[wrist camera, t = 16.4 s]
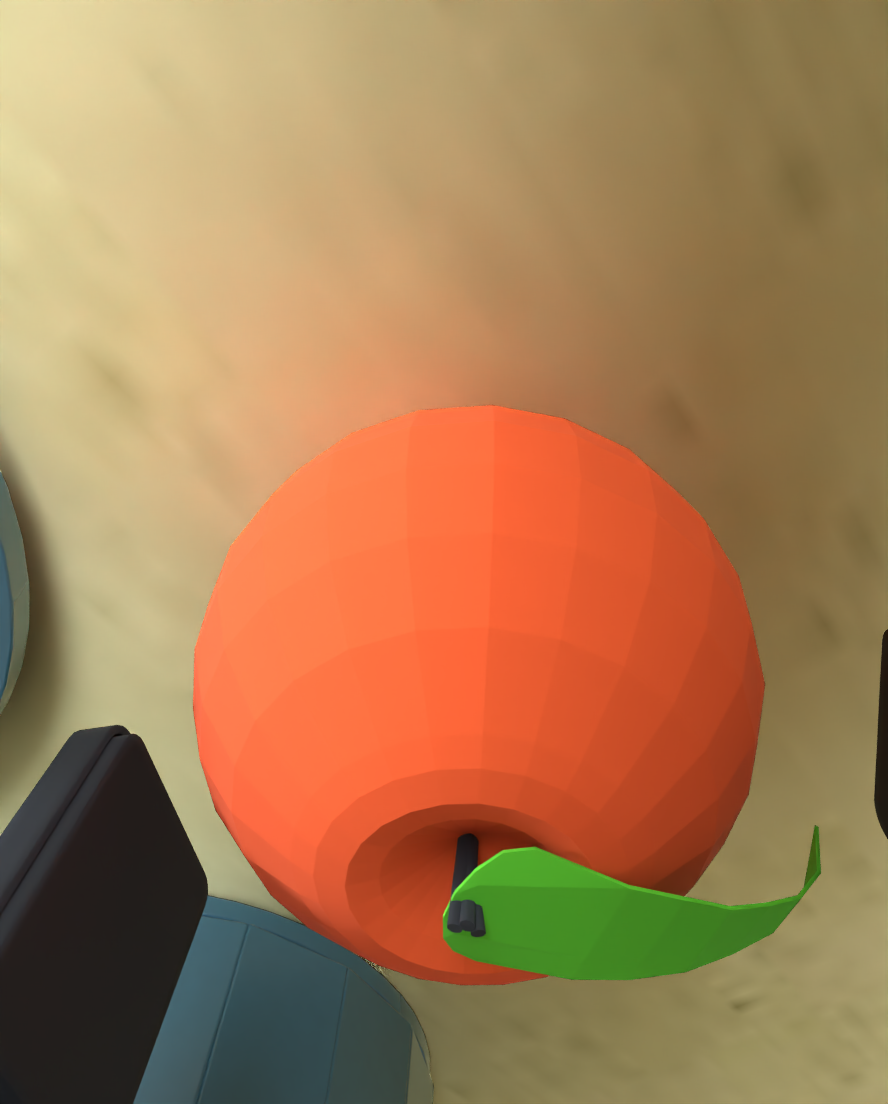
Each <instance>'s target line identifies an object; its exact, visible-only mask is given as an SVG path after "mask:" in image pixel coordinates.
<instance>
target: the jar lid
mask: <svg viewBox="0 0 888 1104" xmlns="http://www.w3.org/2000/svg"><path fill="white" fill-rule="evenodd" d="M29 589H30V584H29V577H28V570H27V564H26V557H25V550H24V543H23V537H22V534H21V530H20V527H19V523H18V520H17V516H16V513H15V510H14V506H13V503H12V499H11V496H10V492H9V489H8V486H7V484H6V481H5V479H4V477H3V475H2V472H1V470H0V714H1V713H2V711H3V710H4V708H5V706H6V705H7V703H8V702H9V700H10V697H11V694H12V692H13V689H14V686H15V684H16V681H17V679H18V676H19V673H20V671H21V668H22V664H23V659H24V653H25V648H26V642H27V637H28V631H29Z"/></svg>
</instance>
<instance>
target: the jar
mask: <svg viewBox="0 0 888 1104" xmlns="http://www.w3.org/2000/svg"><path fill="white" fill-rule="evenodd" d="M433 1093H434V1085H433V1082H432V1079H431V1077H430V1054H429V1050H428V1046H427V1042H426V1038H425V1034H424V1032H423V1030H422V1028H421V1026H420V1024H419V1022H418V1019H417V1017H416V1015H415V1014H414V1012H413V1011H412V1009H411V1008H410V1006H409V1005H408V1004H407V1002H406V1001H405V999H404V998H403V997H402V995H401V994H400V993H399V992H398V991H397V990H396V989H395V988H394V987H393V986H392V985H391V984H390V982H389V981H388V980H387V979H386V978H385V977H384V976H383V975H381V974H380V973H379V972H378V971H377V970H375V969H374V968H373V967H372V966H370V965H369V964H368V963H367V962H366V961H364V960H363V959H362V958H361V957H359V956H357V955H356V954H354V953H353V952H351V951H349V950H347V949H346V948H344V947H342V946H340V945H338V944H337V943H335V942H333V941H331V940H329V939H328V938H326V937H324V936H322V935H320V934H319V933H317V932H315V931H313V930H311V929H310V928H308V927H307V926H305V925H302V924H300V923H297V922H295V921H292V920H290V919H287V918H285V917H282V916H280V915H277V914H275V913H272V912H269V911H266V910H263V909H259V908H256V907H253V906H249V905H246V904H243V903H239V902H236V901H231V900H226V899H222V898H217V897H212V896H208V895H207V902H206V905H205V908H204V911H203V914H202V916H201V919H200V922H199V925H198V927H197V930H196V933H195V936H194V938H193V941H192V944H191V947H190V949H189V952H188V955H187V957H186V960H185V963H184V966H183V968H182V971H181V974H180V977H179V979H178V982H177V985H176V988H175V990H174V993H173V996H172V999H171V1001H170V1004H169V1007H168V1010H167V1012H166V1015H165V1018H164V1020H163V1023H162V1026H161V1029H160V1031H159V1034H158V1037H157V1040H156V1042H155V1045H154V1048H153V1051H152V1053H151V1056H150V1059H149V1062H148V1064H147V1067H146V1070H145V1072H144V1075H143V1078H142V1081H141V1083H140V1086H139V1089H138V1092H137V1094H136V1097H135V1100H134V1103H133V1104H433Z"/></svg>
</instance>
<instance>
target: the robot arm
mask: <svg viewBox="0 0 888 1104" xmlns="http://www.w3.org/2000/svg"><path fill="white" fill-rule="evenodd" d="M874 802H875V809H876V814H877V817H878V820H879V823H880V826H881V828H882V830H883V832H884V834H885V835H886V837H887V839H888V630H886V631H885V632H884V634H883V639H882V655H881V674H880V694H879V714H878V734H877V754H876V774H875V794H874ZM207 895H208V884H207V878H206V875H205V872H204V870H203V868H202V866H201V864H200V862H199V860H198V857H197V855H196V853H195V851H194V849H193V847H192V845H191V842H190V840H189V838H188V836H187V834H186V832H185V830H184V828H183V825H182V823H181V821H180V819H179V817H178V815H177V813H176V810H175V808H174V806H173V804H172V802H171V800H170V798H169V796H168V793H167V791H166V789H165V787H164V785H163V783H162V781H161V779H160V776H159V774H158V772H157V770H156V768H155V766H154V764H153V761H152V759H151V757H150V755H149V753H148V751H147V749H146V747H145V744H144V742H143V741H142V739H141V738H140V737H139V736H138V735H136V734H130V733H129V731H128V730H127V729H126V728H125V727H123V726H120V725H114V726H107V727H99V728H92V729H85V730H79V731H77V732H74V733H73V734H72V735H71V736H70V737H69V739H68V740H67V741H66V743H65V744H64V746H63V747H62V749H61V750H60V751H59V753H58V754H57V756H56V757H55V759H54V760H53V761H52V763H51V764H50V766H49V767H48V769H47V770H46V771H45V773H44V774H43V776H42V777H41V779H40V780H39V781H38V783H37V784H36V786H35V787H34V789H33V790H32V791H31V793H30V794H29V796H28V797H27V799H26V800H25V801H24V803H23V804H22V806H21V807H20V809H19V810H18V811H17V813H16V814H15V816H14V817H13V819H12V820H11V821H10V823H9V824H8V826H7V827H6V829H5V830H4V831H3V833H2V834H1V836H0V1104H133V1103H134V1100H135V1097H136V1094H137V1092H138V1089H139V1086H140V1083H141V1081H142V1078H143V1075H144V1072H145V1070H146V1067H147V1064H148V1062H149V1059H150V1056H151V1053H152V1051H153V1048H154V1045H155V1042H156V1040H157V1037H158V1034H159V1031H160V1029H161V1026H162V1023H163V1020H164V1018H165V1015H166V1012H167V1010H168V1007H169V1004H170V1001H171V999H172V996H173V993H174V990H175V988H176V985H177V982H178V979H179V977H180V974H181V971H182V968H183V966H184V963H185V960H186V957H187V955H188V952H189V949H190V947H191V944H192V941H193V938H194V936H195V933H196V930H197V927H198V925H199V922H200V919H201V916H202V914H203V911H204V908H205V905H206V902H207Z"/></svg>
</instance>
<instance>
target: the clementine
mask: <svg viewBox="0 0 888 1104" xmlns="http://www.w3.org/2000/svg"><path fill="white" fill-rule="evenodd" d="M764 689H765V681H764V677H763V672H762V668H761V663H760V659H759V654H758V649H757V645H756V640H755V636H754V631H753V627H752V622H751V618H750V615H749V611H748V608H747V604H746V600H745V597H744V593H743V589H742V586H741V582H740V578H739V576H738V574H737V572H736V571H735V569H734V567H733V566H732V564H731V562H730V561H729V559H728V557H727V556H726V554H725V553H724V551H723V549H722V548H721V546H720V544H719V543H718V541H717V539H716V538H715V536H714V534H713V533H712V531H711V529H710V528H709V526H708V524H707V523H706V521H705V520H704V518H703V517H702V516H701V515H700V514H699V513H698V512H697V511H696V510H695V509H694V508H693V507H692V506H691V505H690V504H689V503H688V502H687V501H686V500H685V499H684V498H683V497H682V496H681V495H680V494H679V493H678V492H677V491H676V490H675V489H674V488H673V487H672V486H670V485H669V484H668V483H667V482H666V481H665V480H664V479H662V478H661V477H660V476H659V475H658V474H657V473H656V472H654V471H653V470H652V469H651V468H650V467H649V466H648V465H647V464H645V463H644V462H643V461H642V460H641V459H640V458H639V457H637V456H636V455H635V454H634V453H633V452H632V451H631V450H629V449H628V448H626V447H624V446H622V445H620V444H617V443H615V442H613V441H611V440H609V439H607V438H605V437H603V436H601V435H599V434H596V433H594V432H592V431H590V430H588V429H586V428H584V427H582V426H580V425H578V424H575V423H573V422H571V421H569V420H567V419H565V418H560V417H554V416H549V415H543V414H538V413H533V412H527V411H522V410H516V409H511V408H505V407H500V406H495V405H487V406H473V407H459V408H444V409H430V410H418V411H416V412H413V413H410V414H407V415H404V416H401V417H398V418H395V419H392V420H389V421H386V422H383V423H380V424H377V425H374V426H371V427H368V428H365V429H362V430H360V431H357V432H354V433H351V434H350V435H348V436H347V437H345V438H344V439H342V440H341V441H340V442H338V443H337V444H335V445H334V446H332V447H331V448H329V449H328V450H326V451H325V452H323V453H322V454H320V455H319V456H317V457H316V458H315V459H313V460H312V461H310V462H309V463H307V464H306V465H304V466H303V467H301V468H300V469H298V470H297V471H296V472H295V473H294V474H293V475H292V476H291V477H290V478H289V479H288V480H287V481H286V482H285V483H284V484H283V485H282V486H280V487H279V488H278V489H277V490H276V491H275V492H274V493H273V494H272V496H271V497H270V498H269V499H268V501H267V502H266V503H265V504H264V506H263V507H262V508H261V509H260V510H259V512H258V513H257V514H256V515H255V517H254V518H253V519H252V520H251V522H250V523H249V524H248V525H247V527H246V528H245V529H244V530H243V531H242V533H241V534H240V535H239V536H238V538H237V539H236V540H235V541H234V543H233V544H232V545H231V546H230V549H229V552H228V554H227V557H226V559H225V562H224V565H223V567H222V570H221V573H220V575H219V578H218V580H217V583H216V586H215V588H214V591H213V594H212V596H211V599H210V601H209V604H208V607H207V611H206V614H205V617H204V620H203V624H202V627H201V630H200V633H199V637H198V640H197V643H196V647H195V659H194V693H193V711H194V719H195V726H196V734H197V741H198V749H199V756H200V761H201V764H202V768H203V771H204V774H205V777H206V781H207V784H208V787H209V790H210V794H211V797H212V800H213V803H214V807H215V810H216V812H217V813H218V815H219V817H220V818H221V820H222V821H223V823H224V824H225V826H226V828H227V829H228V831H229V832H230V834H231V836H232V837H233V839H234V840H235V842H236V844H237V845H238V847H239V848H240V850H241V851H242V853H243V855H244V856H245V858H246V859H247V861H248V862H249V864H250V865H251V867H252V868H253V869H254V871H255V872H256V874H257V875H258V877H259V878H260V880H261V881H262V883H263V884H264V886H265V887H266V889H267V890H268V892H269V893H270V895H271V896H272V897H274V898H275V899H276V900H277V901H278V902H279V903H280V904H282V905H283V906H284V907H285V908H286V909H287V910H288V911H290V912H291V913H292V914H293V915H294V916H295V917H296V918H298V919H299V920H300V921H301V922H302V923H303V924H304V925H306V926H307V927H308V928H310V929H311V930H313V931H315V932H317V933H319V934H320V935H322V936H324V937H326V938H328V939H329V940H331V941H333V942H335V943H337V944H338V945H340V946H342V947H344V948H346V949H347V950H349V951H351V952H353V953H355V954H357V955H359V956H361V957H363V958H365V959H367V960H369V961H371V962H373V963H375V964H377V965H379V966H382V967H385V968H388V969H391V970H394V971H397V972H400V973H403V974H406V975H409V976H412V977H415V978H418V979H423V980H430V981H436V982H443V983H450V984H456V985H505V984H511V983H516V982H522V981H527V980H533V979H538V978H544V977H547V976H555V977H560V978H565V979H571V980H633V979H641V978H648V977H655V976H662V975H670V974H677V973H684V972H688V971H690V970H693V969H696V968H698V967H701V966H704V965H706V964H709V963H711V962H714V961H717V960H719V959H722V958H725V957H727V956H730V955H732V954H734V953H736V952H738V951H740V950H742V949H744V948H746V947H748V946H749V945H751V944H753V943H755V942H757V941H759V940H761V939H763V938H765V937H767V936H769V935H770V934H772V933H774V931H775V930H776V929H777V928H778V926H779V925H780V924H781V923H782V922H783V920H784V919H785V918H786V917H787V915H788V914H789V913H790V912H791V910H792V909H793V908H794V907H795V906H796V904H797V903H798V902H799V901H800V899H801V898H802V897H803V896H804V894H805V893H806V892H807V890H808V889H809V888H810V887H811V885H812V884H813V883H814V881H815V880H816V879H817V878H818V876H819V875H820V874H821V864H820V845H819V827H818V826H816V825H815V828H814V833H813V839H812V844H811V850H810V855H809V861H808V867H807V872H806V878H805V883H804V888H803V889H802V890H801V891H800V893H799V894H798V895H796V896H792V897H788V898H784V899H779V900H775V901H771V902H766V903H756V904H746V905H736V906H727V905H722V904H718V903H713V902H708V901H703V900H699V899H694V898H689V897H684V896H685V895H686V894H687V893H688V892H689V891H690V890H691V888H692V887H693V886H694V885H695V884H696V882H697V881H698V880H699V878H700V877H701V875H702V874H703V873H704V871H705V870H706V868H707V867H708V866H709V864H710V863H711V861H712V860H713V859H714V857H715V856H716V854H717V853H718V852H719V850H720V849H721V847H722V846H723V845H724V843H725V841H726V839H727V837H728V835H729V833H730V831H731V829H732V827H733V825H734V823H735V821H736V819H737V817H738V815H739V813H740V811H741V809H742V807H743V805H744V803H745V801H746V799H747V797H748V795H749V789H750V783H751V778H752V772H753V766H754V760H755V755H756V749H757V743H758V735H759V728H760V720H761V712H762V704H763V697H764Z"/></svg>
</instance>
